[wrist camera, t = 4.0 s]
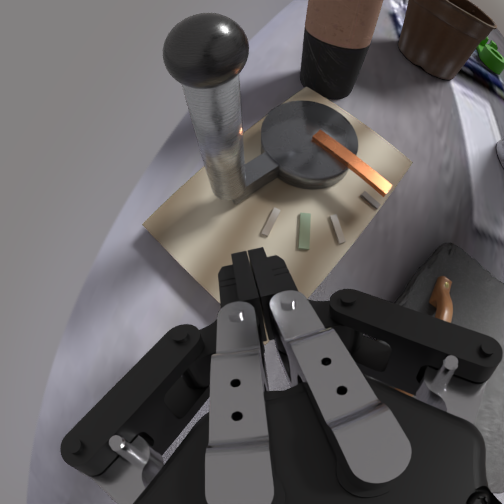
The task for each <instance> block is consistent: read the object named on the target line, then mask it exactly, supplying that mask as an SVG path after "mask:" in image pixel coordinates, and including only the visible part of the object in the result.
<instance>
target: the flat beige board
mask: <svg viewBox="0 0 504 504" xmlns="http://www.w3.org/2000/svg"><path fill="white" fill-rule="evenodd" d="M291 101H313V102H318V103H321V104H324V105H327V106H329V107H331V108H333V109H335V110H336V111H338V112H339V113H340V114H342V115H343V116H344V117H345V118H346V119H347V120H348V121H349V122H350V123H351V125H352V126H353V128H354V130H355V132H356V135H357V138H358V152H357V155H356V156H357V157H358V158H360V159H361V160H362V161H363V162H365V163H366V164H367V165H369V166H370V167H371V168H372V169H373V170H375V171H376V172H377V173H378V174H380V175H381V176H382V177H383V178H384V179H385V180H387V181H388V182H389V183H390V184H391V185H392V187H391V188H390V189H389V191H388V192H387V194H386V195H385V196H384V197H383V196H382V195H380V194H379V193H378V192H377V191H376V190H375V189H373V188H372V187H371V186H370V185H369V184H367V183H366V182H365V181H364V180H363V179H361V178H360V177H359V176H358V175H356V174H355V173H354V172H353V171H351V170H350V169H349V170H348V172H347V174H346V175H345V177H344V178H343V179H342V180H341V181H339V182H338V183H336V184H335V185H333V186H330V187H327V188H323V189H315V190H311V189H302V188H298V187H294V186H292V185H289V184H287V183H285V182H283V181H281V180H280V179H279V178H276V179H274V180H273V181H271V182H270V183H268V184H267V185H265V186H263V187H262V188H260V189H259V190H257V191H256V192H254V193H253V194H252V195H250V196H249V197H247V198H246V199H244V200H243V201H241V202H240V203H238V204H237V205H235V204H234V202H233V201H232V200H222V199H219V198H218V197H216V196H215V195H214V193H213V192H212V189H211V186H210V182H209V179H208V176H207V172H206V169H205V166H204V167H203V168H201V169H200V170H199V171H198V172H197V173H196V174H195V175H194V176H192V177H191V178H190V179H189V180H188V181H187V182H186V183H185V184H184V185H183V186H181V187H180V188H179V189H178V190H177V191H176V192H175V193H174V194H173V195H172V196H171V197H170V198H169V199H168V200H166V201H165V202H164V203H163V204H162V205H161V206H160V207H159V208H158V209H157V210H156V211H155V212H154V213H153V214H152V215H151V216H150V217H149V218H148V219H147V220H146V221H145V222H144V223H143V224H142V225H143V226H144V227H145V228H146V229H147V230H148V231H149V233H150V234H151V235H152V236H153V237H154V238H155V239H156V240H157V241H158V242H159V243H160V244H161V245H162V246H163V247H164V248H165V249H166V250H167V251H168V252H169V253H170V254H171V255H172V257H173V258H174V259H175V260H176V261H177V262H178V263H179V264H180V265H181V266H182V267H183V268H184V269H185V270H186V271H187V272H188V273H189V274H190V275H191V276H192V277H193V278H194V279H195V280H196V281H197V282H198V283H199V284H200V285H201V286H202V287H203V288H204V289H205V290H206V291H208V292H209V293H210V294H211V295H212V296H213V297H214V298H215V299H216V300H217V301H218V302H219V303H220V293H219V281H218V273H219V271H220V269H221V267H223V266H228V265H232V264H233V263H232V257H231V254H233V253H237V252H242V251H247V255H248V250H251V249H256V248H261V247H263V248H264V250H265V253H266V256H267V257H269V256H274V255H277V256H279V257H280V258H282V259H283V260H284V261H285V263H286V266H287V268H288V270H289V272H290V274H291V276H292V278H293V280H294V282H295V285H296V287H297V289H298V291H299V292H301V293H302V294H304V295H305V297H306V298H307V299H308V297H309V296H310V295H311V294H312V293H313V292H314V290H315V289H316V288H317V287H318V286H319V285H320V283H321V282H322V281H323V280H324V279H325V277H326V276H327V275H328V274H329V273H330V271H331V270H332V269H333V268H334V267H335V265H336V264H337V263H338V262H339V261H340V259H341V258H342V257H343V256H344V254H345V253H346V252H347V251H348V249H349V248H350V247H351V246H352V244H353V243H354V242H355V241H356V239H357V238H358V237H359V235H360V234H361V233H362V232H363V230H364V229H365V228H366V226H367V225H368V224H369V222H370V221H371V220H372V219H373V217H374V216H375V215H376V213H377V212H378V211H379V209H380V208H381V207H382V205H383V204H384V202H385V201H386V200H387V198H388V197H389V196H390V194H391V193H392V191H393V190H394V189H395V187H396V186H397V184H398V183H399V182H400V180H401V179H402V177H403V176H404V175H405V173H406V172H407V170H408V169H409V167H410V166H411V164H412V163H413V162H411V161H410V160H409V159H408V158H407V157H406V156H404V155H403V154H402V153H401V152H400V151H398V150H397V149H396V148H395V147H394V146H392V145H391V144H390V143H389V142H387V141H386V140H385V139H383V138H382V137H381V136H380V135H378V134H377V133H376V132H374V131H373V130H372V129H370V128H369V127H368V126H366V125H365V124H363V123H362V122H361V121H359V120H358V119H356V118H355V117H354V116H352V115H351V114H349V113H348V112H346V111H345V110H343V109H342V108H340V107H339V106H337V105H336V104H334V103H333V102H331V101H329V100H328V99H326V98H325V97H323V96H321V95H320V94H318V93H317V92H315V91H313V90H312V89H310V88H308V87H305V88H303V89H302V90H300V91H299V92H298V93H296V94H295V95H293V96H292V97H291V98H289V99H288V100H286V101H285V102H284V103H287V102H291ZM284 103H282V104H284ZM267 115H268V114H267ZM267 115H266V116H267ZM266 116H265V117H266ZM265 117H264V118H262V119H261V120H260V121H258V122H257V123H256V124H254V125H253V126H252V127H251V128H249V129H248V130H247V131H246V132H244V133H243V144H244V160H245V164H246V163H248V162H250V161H251V160H253V159H254V158H256V157H258V156H259V155H261V127H262V123H263V121H264V119H265ZM248 258H249V256H248ZM249 262H250V261H249ZM263 321H264V320H263ZM264 326H265V324H264ZM265 332H266V328H265ZM266 337H267V341H264V342H263V343H264V345H266V344H267V343H268V342H269V341H270V340H269V339H268V335H267V332H266Z"/></svg>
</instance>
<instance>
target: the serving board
mask: <svg viewBox="0 0 504 504" xmlns="http://www.w3.org/2000/svg"><path fill="white" fill-rule="evenodd" d="M395 304H398V305H400V306H403V307H406V308H409V309H412V310H415V311H418V312H421V313H424V314H427V315H429V316H432V317H435V318H438V319H441V320H444V321H447V322H450V323H453V324H456V325H459V326H462V327H464V328H467V329H470V330H473V331H476V332H479V333H482V334H485V335H488V336H490V337H492V338H494V339H495V340H497V341H498V342H499V344H500V345H501V347H502V351H503V357H502V360H501V362H500V363H499V365H498V366H497V368H496V370H495V371H494V373H493V374H492V376H491V377H490V378H489V380H488V381H487V383H486V385H485V389H484V392H483V396H482V400H481V403H480V407H479V410H478V413H477V416H476V419H475V422H474V425H475V426H476V427H477V428H478V430H479V431H480V432H481V434H482V436H483V438H484V441H485V446H486V477H487V482H488V486H489V489H490V491H491V492H492V493H503V492H504V283H502V282H500V281H499V280H497V279H496V278H494V277H492V276H491V274H490V273H489V272H488V271H487V270H485V269H483V267H482V266H481V265H480V264H479V263H478V262H477V261H476V260H474V259H473V258H471V257H470V256H469V255H468V254H466V253H465V252H464V251H463V250H462V249H461V248H459V247H458V246H456V245H454V244H452V243H444V244H442V245H441V246H439V247H438V248H437V249H436V251H435V252H434V253H433V255H432V256H431V257H430V258H429V260H428V261H427V262H426V263H425V264H423V265H422V266H421V267H420V268H419V269H418V271H417V273H416V274H415V275H414V276H413V277H412V278H411V280H410V282H409V283H408V285H407V287H406V289H405V291H404V293H403V294H402V295H401V296H400V297H399V298H398V299H397V301H396V302H395ZM376 341H378V342H380V343H383V344H385V345H388V346H389V344H387V343H386V342H384V341H382V340H379V339H377V340H376ZM363 376H364V377H368V378H371V379H374V378H372V377H370V376H368V375H365V374H363ZM374 380H377V379H374ZM377 381H379V380H377ZM379 382H381V381H379ZM381 383H383V384H385V385H387V386H389V387H392V388H394V389H396V390H398V391H400V392H402V393H405V394H407V395H409V396H411V397H413V398H416V396H415V395H412V394H410V393H407V392H405V391H402V390H400V389H398V388H395V387H393V386H391V385H388V384H386V383H384V382H381ZM416 399H417V398H416Z"/></svg>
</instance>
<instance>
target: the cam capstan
mask: <svg viewBox="0 0 504 504" xmlns="http://www.w3.org/2000/svg"><path fill="white" fill-rule="evenodd" d="M248 54H249V44H248V39H247V36H246V34H245V33H244V31H243V29H242V28H241V27H240V26H239V25H238V24H237V23H236V22H235V21H233V20H232V19H230V18H228V17H226V16H223V15H220V14H216V13H201V14H196V15H193V16H190V17H188V18H186V19H184V20H182V21H181V22H179V23H178V24H177V25H176V26H175V27H174V28H173V29H172V30H171V32H170V33H169V34H168V36H167V38H166V40H165V43H164V47H163V60H164V63H165V66H166V69H167V70H168V72H169V73H170V75H171V76H172V77H173V78H174V79H175V80H177V81H178V82H180V83H181V84H182V87H183V91H184V95H185V98H186V102H187V105H188V109H189V113H190V116H191V120H192V123H193V127H194V130H195V134H196V137H197V141H198V144H199V148H200V151H201V155H202V158H203V162H204V165H205V169H206V172H207V176H208V179H209V182H210V186H211V189H212V192H213V193H214V195H215V196H216V197H218V198H219V199H222V200H232V201H233V202H234V204H235V205H237V204H238V203H240V202H241V201H243V200H244V199H246V198H247V197H249V196H250V195H252V194H253V193H254V192H256V191H257V190H259V189H260V188H262V187H263V186H265V185H267V184H268V183H270V182H271V181H273V180H274V179H276V178H279V179H280V180H281V181H283V182H285V183H287V184H289V185H292V186H294V187H298V188H302V189H311V190H315V189H323V188H327V187H330V186H333V185H335V184H336V183H338V182H339V181H341V180H342V179H343V178H344V177H345V175H346V174H347V172H348V170H349V169H350V170H351V171H353V172H354V173H355V174H356V175H358V176H359V177H360V178H361V179H363V180H364V181H365V182H366V183H367V184H369V185H370V186H371V187H372V188H373V189H375V190H376V191H377V192H378V193H379V194H380V195H382V196H383V197H384V196H385V195H386V194H387V192H388V191H389V189H390V188H391V187H392V185H391V184H390V183H389V182H388V181H387V180H385V179H384V178H383V177H382V176H381V175H380V174H378V173H377V172H376V171H375V170H373V169H372V168H371V167H370V166H369V165H367V164H366V163H365V162H363V161H362V160H361V159H360V158H358V157H357V156H356V155H357V152H358V138H357V135H356V132H355V130H354V128H353V126H352V125H351V123H350V122H349V121H348V120H347V119H346V118H345V117H344V116H343V115H342V114H340V113H339V112H338V111H336V110H335V109H333V108H331V107H329V106H327V105H324V104H321V103H318V102H313V101H291V102H287V103H284V104H281V105H279V106H277V107H276V108H274V109H273V110H271V111H270V112H269V113H268V115H267V116H266V117H265V119H264V121H263V123H262V127H261V155H259V156H258V157H256V158H254V159H253V160H251V161H250V162H248V163H246V164H245V160H244V144H243V128H242V113H241V97H240V81H239V73H240V72H241V70H242V69H243V67H244V66H245V64H246V61H247V58H248Z"/></svg>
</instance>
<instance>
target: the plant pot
mask: <svg viewBox="0 0 504 504" xmlns="http://www.w3.org/2000/svg"><path fill="white" fill-rule="evenodd" d="M496 28H497V25H496V24H495V22H494V21H493V20H492V19H491V18H490V17H489V16H488V15H486V14H485V13H484V12H483V11H482V10H481V9H479V8H478V7H477V6H476V5H474V4H473V3H471V2H470V1H469V0H409V1H408V6H407V11H406V15H405V19H404V23H403V27H402V31H401V35H400V39H399V42H398V46H399V49H400V50H401V52H402V53H403V54H404V55H405V57H406V58H408V59H409V60H410V61H411V62H412V63H413V64H415V65H419V66H421V67H422V68H424V70H425V71H426V72H427V73H429V74H431V75H433V76H436V77H438V78H442V79H447V80H450V79H453V78H454V77H455V76H456V74H457V73H458V72H459V70H460V69H461V68H462V66H463V65H464V64H465V62H466V61H467V60H468V58H469V57H470V56H471V54H472V53H473V52H474V50H475V49H476V48H477V46H478V45H479V44H480V42H481V41H482V40H485V39H486V37H487V36H488V35H489V33H490V32H491V31H492V30H493V29H496Z"/></svg>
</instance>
